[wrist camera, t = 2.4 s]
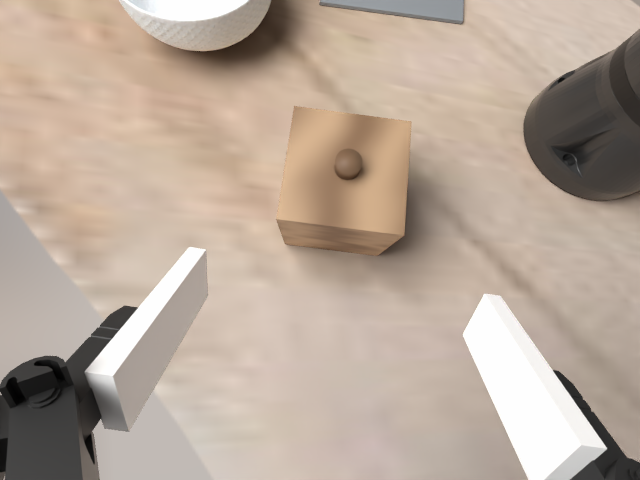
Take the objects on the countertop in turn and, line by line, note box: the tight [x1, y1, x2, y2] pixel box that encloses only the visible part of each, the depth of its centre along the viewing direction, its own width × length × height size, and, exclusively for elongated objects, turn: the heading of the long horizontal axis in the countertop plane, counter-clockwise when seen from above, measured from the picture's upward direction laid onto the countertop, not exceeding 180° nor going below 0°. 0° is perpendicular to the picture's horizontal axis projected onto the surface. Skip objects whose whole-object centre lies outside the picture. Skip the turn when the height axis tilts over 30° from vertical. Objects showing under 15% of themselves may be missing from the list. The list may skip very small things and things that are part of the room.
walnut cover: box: [276, 106, 411, 256], centre depth 28 cm, size 10×10×10 cm
